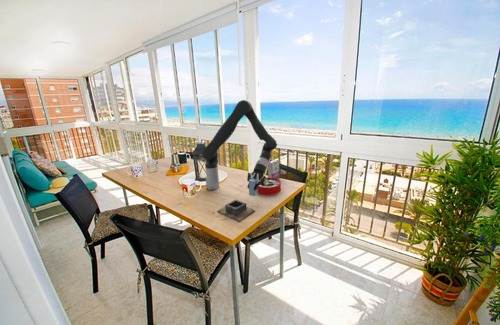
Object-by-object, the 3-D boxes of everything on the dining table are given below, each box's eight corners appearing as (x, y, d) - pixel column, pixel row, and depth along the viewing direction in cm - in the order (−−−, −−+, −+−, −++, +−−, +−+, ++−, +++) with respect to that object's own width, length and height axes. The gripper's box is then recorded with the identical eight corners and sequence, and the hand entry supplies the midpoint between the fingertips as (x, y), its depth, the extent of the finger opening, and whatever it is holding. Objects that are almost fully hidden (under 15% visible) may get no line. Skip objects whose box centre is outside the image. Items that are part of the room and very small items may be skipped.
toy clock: (256, 177, 159) (281, 178, 155) (256, 184, 160) (281, 184, 156) (251, 187, 140) (280, 188, 136) (252, 194, 141) (280, 196, 138)
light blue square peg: (249, 194, 127) (248, 180, 124) (252, 192, 130) (252, 178, 127) (254, 196, 124) (253, 181, 122) (257, 194, 127) (257, 179, 125)
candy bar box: (274, 176, 174) (274, 158, 169) (279, 177, 171) (279, 159, 166) (267, 180, 166) (267, 161, 161) (272, 181, 163) (272, 162, 158)
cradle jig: (217, 211, 119) (216, 204, 118) (233, 203, 129) (233, 196, 128) (239, 221, 108) (238, 213, 107) (255, 211, 118) (254, 203, 117)
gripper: (250, 161, 131) (239, 184, 125) (268, 164, 123) (258, 189, 117) (254, 167, 137) (245, 189, 131) (272, 170, 129) (263, 194, 123)
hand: (251, 189), depth 124 cm, fingers closed on light blue square peg, 4 cm apart
